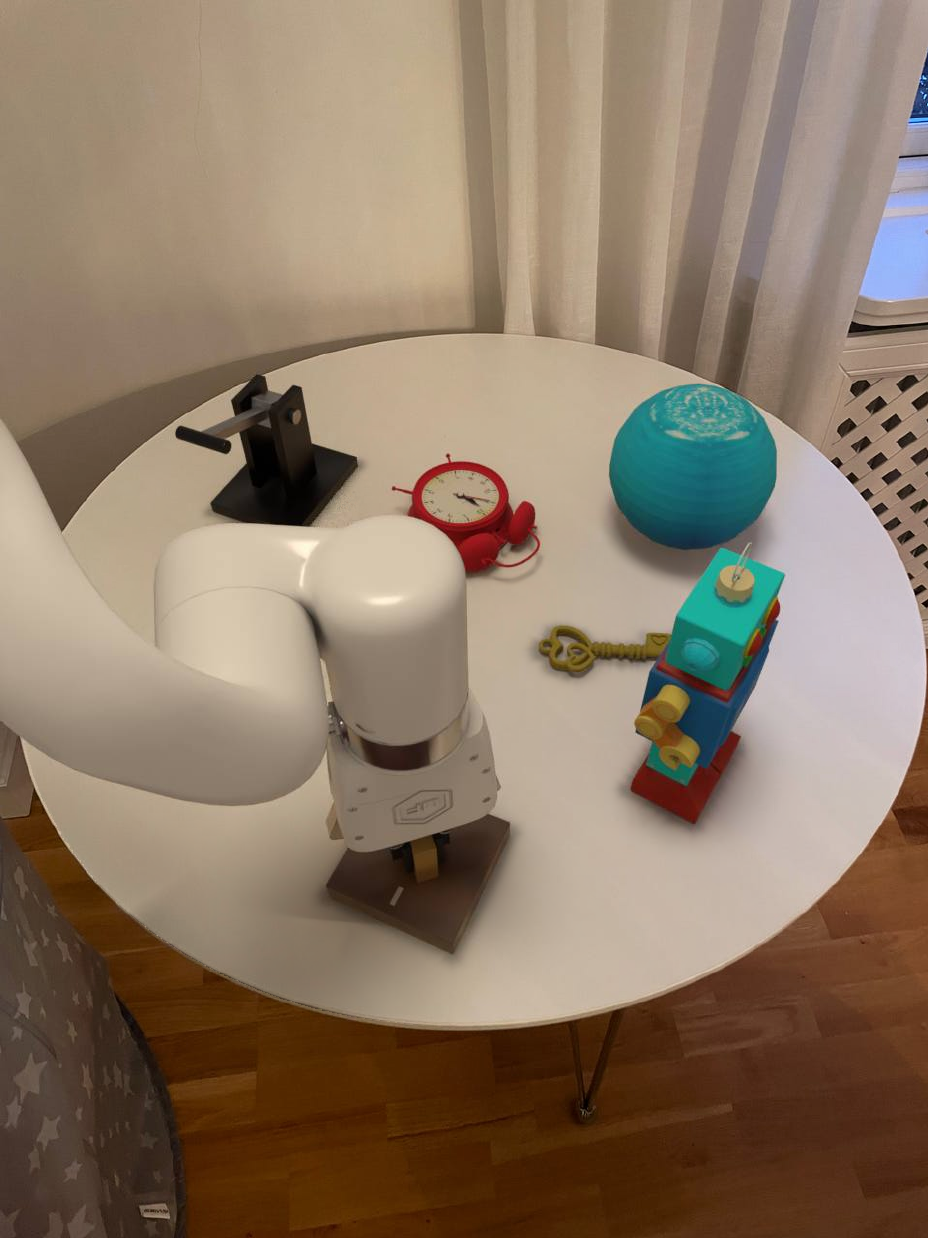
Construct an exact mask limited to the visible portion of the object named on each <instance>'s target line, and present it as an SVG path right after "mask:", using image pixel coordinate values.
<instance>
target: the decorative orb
mask: <svg viewBox="0 0 928 1238" xmlns="http://www.w3.org/2000/svg"><path fill="white" fill-rule="evenodd" d="M609 459H610V460H609V465H608V477H609V485H610V488H611V491H612V494H613V498H614V502H615V503H616V507H617V508H618V510H619V511H620V513H621V514H622V515H623V517H624V518H625V519H626V520H627V522H628V523H629V524H630V525H631V527H632V528H633V529H634V530H635V531H637V532H638V533H640V534H642V536H644V537H645V538H647V539H649V540H650V541H651V542H654V543H656V544H659V545H661V546H664V547H667V548H671V549H677V550H685V551H692V550H702V549H703V550H704V549H709V548H712V547H716V546H719V545H722V544H724V543H727V542H729V541H731V540H733V539H736V537H738V536H739V535H740V534H741V533H743V532H744V531H746V530H747V529H748V528H749V527H751V526H752V525H753V524H754V523H755V522H756V521H757V520H758V519H759V517H760V516H761V515H762V513H763V511H764V509H765V507H766V505H768V502H769V501H770V498H771V496H772V495H773V492H774V490H775V488H776V487H775V486H776V482H777V476H778V475H777V474H778V473H777V472H778V449H777V445H776V441H775V439H774V436H773V434H772V432H771V430H770V428H769V426H768V423H767V421H766V420H765V417H764V416H763V415H762V414H761V413H760V411H758V409H756V407H755V406H753V404H751V402H749V400H747V399H745V398H744V397H743V396H742V395H739V394H737V393H735V392H734V391H732V390H730V389H727V388H724V387H721V386H719V385H715V384H706V383H688V384H687V383H686V384H680V385H676V386H673V387H669V388H666V389H663V390H660V391H658V392H657V393H655V394H653V395H652V396H651V397H649V398H647V399H646V400H644V401H642V402H640V404H639V405H637V406H636V408H634V409H633V411H631V413H630V415H629V416H628V417H627V419H626V420H625V421H624V423H623V424H622V425H621V427H620V428H619V429H618V431H617V433H616V435H615V438H614V440H613V445H612V449H611V454H610V458H609Z"/></svg>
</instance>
